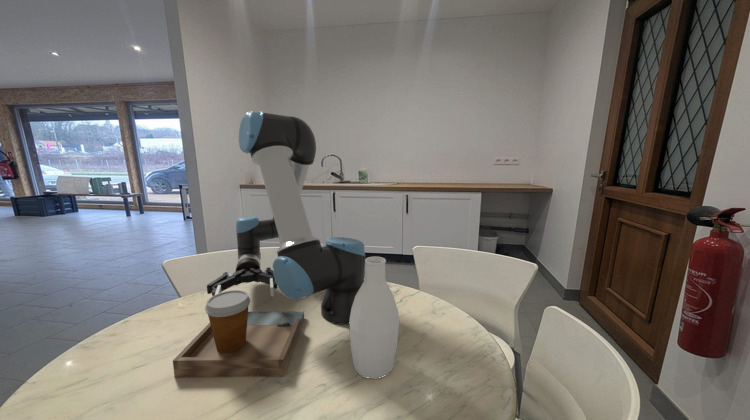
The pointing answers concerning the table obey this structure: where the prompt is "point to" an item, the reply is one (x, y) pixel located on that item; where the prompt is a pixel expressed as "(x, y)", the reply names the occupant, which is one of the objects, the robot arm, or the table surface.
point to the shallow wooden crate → (244, 349)
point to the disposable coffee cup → (228, 319)
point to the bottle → (374, 323)
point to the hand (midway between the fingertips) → (245, 295)
